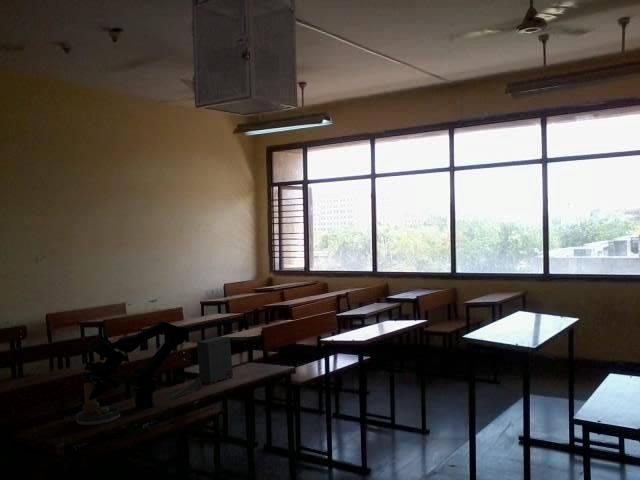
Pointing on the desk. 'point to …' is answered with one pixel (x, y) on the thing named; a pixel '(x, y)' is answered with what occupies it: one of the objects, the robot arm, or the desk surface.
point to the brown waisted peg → (89, 405)
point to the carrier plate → (99, 416)
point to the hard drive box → (214, 359)
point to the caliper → (191, 386)
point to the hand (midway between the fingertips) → (86, 399)
